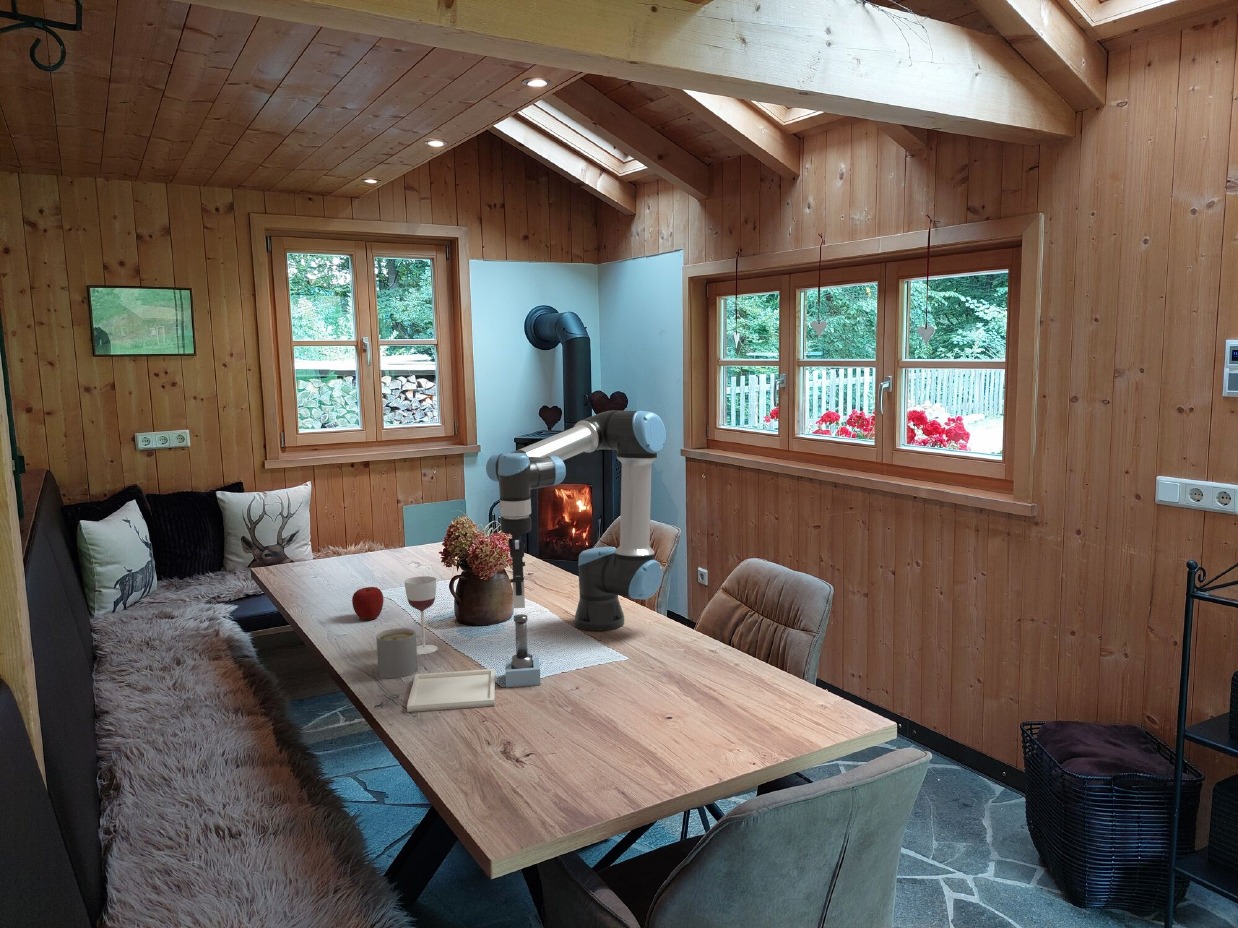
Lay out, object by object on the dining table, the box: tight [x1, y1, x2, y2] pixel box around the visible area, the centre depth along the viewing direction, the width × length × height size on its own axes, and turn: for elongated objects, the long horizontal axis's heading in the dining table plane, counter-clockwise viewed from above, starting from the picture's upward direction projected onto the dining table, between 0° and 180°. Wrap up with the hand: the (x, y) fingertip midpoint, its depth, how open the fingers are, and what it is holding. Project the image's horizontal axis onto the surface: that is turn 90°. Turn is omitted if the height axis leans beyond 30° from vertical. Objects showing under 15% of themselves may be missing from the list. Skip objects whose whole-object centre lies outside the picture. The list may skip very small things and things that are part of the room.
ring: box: [504, 656, 542, 688], centre depth 216 cm, size 8×8×4 cm
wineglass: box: [404, 575, 439, 655], centre depth 239 cm, size 8×9×20 cm
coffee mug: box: [375, 627, 418, 679], centre depth 225 cm, size 13×10×10 cm
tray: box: [406, 668, 496, 713], centre depth 209 cm, size 20×20×2 cm
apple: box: [351, 586, 384, 621], centre depth 270 cm, size 10×10×10 cm
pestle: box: [511, 614, 533, 669], centre depth 216 cm, size 5×5×16 cm
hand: (518, 599), depth 214 cm, fingers open, 13 cm apart
